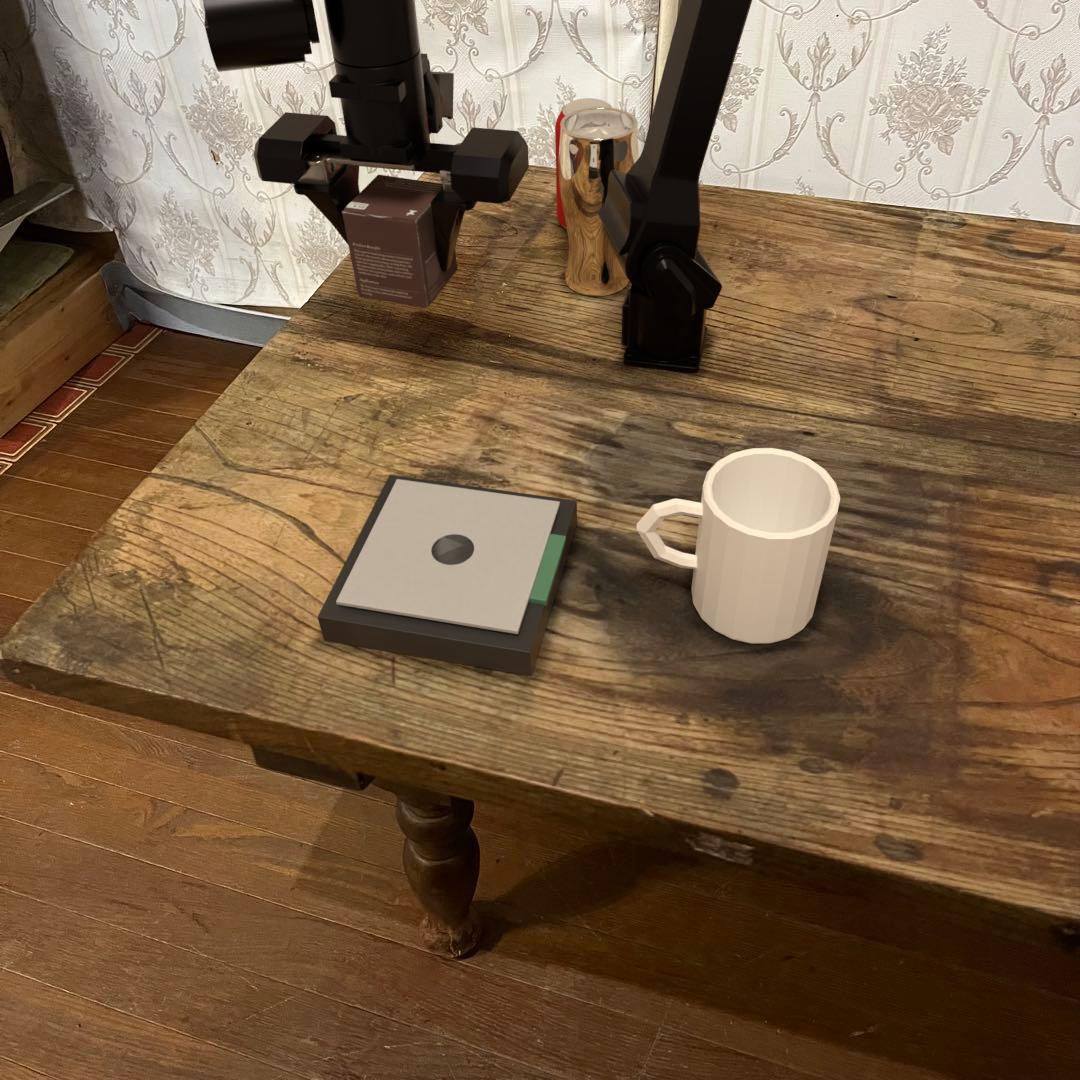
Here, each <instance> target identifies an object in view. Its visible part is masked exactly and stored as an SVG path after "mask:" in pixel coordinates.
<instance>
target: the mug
mask: <svg viewBox="0 0 1080 1080" xmlns="http://www.w3.org/2000/svg"><path fill="white" fill-rule="evenodd" d="M840 501H841V495H840V491H839V487H838V485H837V482H836V481H835V480H834V478H832V476H831V475H830V474H829V472H828V471H827V470H826V469H825V468H823V467H822V466H820V464H817V462H815V461H814V460H812V459H810V458H808V457H806V456H804V455H801V454H799V453H797V452H794V451H791V450H786V449H780V448H776V447H775V448H774V447H753V448H752V447H751V448H748V449H743V450H740V451H735V452H732V453H730V454H728V455H726V456H725V457H723V458H720V459H719V460H717V461H716V462H715V463H714V464H713V465H712V466H711V468H710V469H708V471H706V475H705V478H704V481H703V484H702V489H701V499H700V501H694V500H687V499H682V498H676V497H675V498H671V499H668V500H665V501H661V502H657V503H653V504H652V505H651V506H650V508H649V509H648V510H647V511H646V513H644V515H643V516H642V517H641V519H639V521H638V522H637V523H636V524H635V526H636V531H637V533H638V535H639V536H640V537H641V540H642V541H643V542H644V544H645V546H646V547H647V549H648V551H649V552H650V554H651V555H652V557H653V558H654V559H656V560H659V561H661V562H664V563H667V564H669V565H672V566H674V567H677V568H678V569H679V568H680V569H688V570H692V571H693V572H692V579H691V581H692V582H691V588H690V589H691V596H692V597H691V598H692V604H693V606H694V608H695V610H696V611H697V613H698V615H699V617H700V619H701V620H702V621H703V622H704V623H706V624H707V625H708V626H709V627H710V628H711V629H712V630H713V631H715V632H717V633H718V634H720V635H722V636H724V637H727V638H728V639H730V640H734V641H737V642H740V643H741V642H742V643H746V644H752V645H753V644H754V645H759V644H761V645H762V644H766V645H767V644H774V643H777V642H781V641H785V640H788V639H790V638H792V637H794V636H795V635H796V634H798V633H799V632H801V631H803V630H804V629H805V627H806V626H807V625H808V624H809V622H810V621H811V620H812V618H813V616H814V612H815V608H816V604H817V600H818V596H819V591H820V587H821V583H822V579H823V575H824V570H825V565H826V562H827V558H828V553H829V549H830V546H831V542H832V537H833V533H834V529H835V525H836V521H837V516H838V512H839V507H840ZM681 516H687V517H688V516H689V517H692V518H693V517H694V518H698V525H697V526H698V527H697V535H696V544H695V553H694V554H692V553H687V552H682V551H680V550H677V549H675V548H672V547H670V546H668V545H666V544H665V543H664V540H662V538H661V536H660V535H659V533H658V532H657V530H656V529H658V527H660V525H661V524H662V523H663V522H664V520H668V519H671V518H672V519H673V518H676V517H681Z"/></svg>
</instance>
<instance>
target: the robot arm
mask: <svg viewBox="0 0 1080 1080" xmlns="http://www.w3.org/2000/svg"><path fill="white" fill-rule="evenodd" d="M202 3H203V4H202V5H203V10H204V28H205V33H206V38H207V42H208V45H209V50H210V52H211V56H212V59H213V62H214V66H215V69H216V70H217V72H218V73H221V72H231V71H239V70H248V69H257V68H267V67H275V66H283V65H291V64H301V63H306V62H307V61H306V60H307V59H306V55H312V54H313V50H312V45H314V44H320V42H321V41H320V35H319V30H318V25H317V18H316V13H315V5H314V1H313V0H202ZM752 3H753V0H681V2H680V5H679V9H678V13H677V16H676V21H675V24H674V25H675V26H674V28H673V33H672V36H671V40H670V45H669V48H668V52H667V56H666V59H665V63H664V67H663V71H662V75H661V79H660V83H659V87H658V91H657V93H656V98H655V102H654V105H653V110H652V113H651V116H650V117H651V118H650V122H649V125H648V129H647V132H646V136H645V141H644V144H643V147H642V150H641V153H640V155H639V159H638V160H637V161H636V162H635V164H634V165H633V166H632V167H631V169H630V170H629V171H628V172H627V173H624V172H620V171H617V170H611V171H610V174H609V180H608V192H607V197H606V200H605V202H604V205H603V206H602V208H601V209H600V211H599V212H598V216H599V217H600V219H601V221H602V223H603V225H604V233H605V236H606V238H607V241H608V243H609V245H610V246H611V248H612V250H613V252H614V254H615V256H616V258H617V260H618V262H619V264H620V265H621V267H622V269H623V271H624V273H625V275H626V277H627V278H628V280H629V283H630V288H629V289H627V290H626V293H625V296H624V299H623V302H622V306H621V332H620V333H621V335H620V344H621V346H623V347H625V349H624V353H623V356H622V362H623V364H624V365H628V366H636V367H645V368H654V369H663V370H671V371H681V372H689V373H696V372H699V371H700V368H701V363H702V358H703V353H704V349H705V344H706V341H707V335H708V327H707V326H706V322H707V314H708V313H707V312H708V310H709V309H712V308H714V306H715V304H716V302H717V300H718V298H719V295H720V293H721V291H722V289H723V284H722V283H721V282H720V280H719V278H718V277H717V275H716V273H715V272H714V271H713V269H712V267H711V266H710V264H709V263H708V262H707V259H706V258H705V256H704V255H703V253H702V252H701V251H700V248H699V247H698V246H699V238H700V233H701V223H702V222H701V202H700V175H701V172H702V169H703V166H704V161H705V159H706V155H707V152H708V149H709V146H710V142H711V138H712V135H713V132H714V128H715V125H716V122H717V119H718V115H719V113H720V108H721V105H722V102H723V98H724V95H725V92H726V90H727V89H726V88H727V86H728V82H729V79H730V75H731V72H732V69H733V65H734V63H735V58H736V56H737V52H738V49H739V45H740V43H741V39H742V36H743V32H744V29H745V26H746V22H747V20H748V16H749V12H750V9H751V6H752ZM323 5H324V10H325V16H326V23H327V27H328V33H329V39H330V46H331V53H332V59H333V63H334V69H335V75H334V76H333V77H332V78H330V80H328V86H329V92H330V97H331V98H333V99H334V98H335V99H340V105H341V110H342V117H343V122H344V128H345V134H346V135H342V134H338V132H337V127H336V122H335V121H334V120H333V119H332V117H330V116H329V115H325V114H312V113H299V112H284V113H283V114H282V115H281V116H279V118H278V119H277V120H276V121H274V123H273V124H272V125H271V126H270V127H269V128H268V129H267V130H266V131H265V132H264V133H263V134H261V136H260V137H259V138H258V139H257V140H256V142H255V144H254V151H253V158H254V162H255V163H254V164H255V166H256V167H255V168H256V171H257V176H258V178H259V179H260V180H261V181H262V182H267V183H279V184H289V185H293V190H294V192H295V194H297V195H299V196H304V197H306V198H307V199H308V200H309V201H310V203H312V204H313V205H314V207H316V208H317V209H318V211H319V213H321V214H322V215H323V216H324V217H325V218H326V220H328V221H329V223H330V224H331V225H332V226H333V228H334V229H335V231H337V233H338V234H339V235H340V236H341V238H342V239H343V241H344V242H345V243H346V244H347V246H348V247H349V245H348V240H347V235H346V231H345V224H344V220H343V215H342V211H343V210H344V209H345V208H346V206H347V205H348V204H349V203H350V202H351V201H352V200H353V199H354V198H355V197H356V196H357V195H358V194H359V193H360V192H361V191H360V185H359V178H360V167H366V168H375V169H388V170H397V171H398V170H399V171H408V172H409V171H410V172H418V173H419V172H420V173H431V174H432V173H433V174H439V177H440V181H441V184H442V186H441V188H440V189H439V191H438V192H437V194H436V195H435V196H434V198H433V199H432V201H431V208H432V216H433V224H434V231H435V239H436V247H437V255H438V260H439V263H440V266H441V270H442V271H445V272H447V271H448V269H449V267H450V266H451V263H452V259H453V255H454V251H455V249H456V246H457V243H458V238H459V235H460V231H461V227H462V223H463V220H464V216H465V213H466V212H468V211H472V210H473V209H474V208H475V207H476V205H477V203H485V204H496V205H497V204H498V205H500V204H503V203H506V202H510V201H511V199H512V197H513V195H514V194H515V192H516V190H517V189H518V187H519V185H520V184H521V181H522V180H523V178H524V176H525V175H526V173H527V171H528V170H529V167H530V164H529V163H530V161H529V145H528V142H527V141H526V140H525V138H524V137H523V136H522V134H521V133H520V131H519V130H508V129H498V128H496V129H495V128H485V127H475V126H474V127H473V126H472V127H471V129H470V130H469V131H468V133H467V135H466V136H465V137H464V138H463V140H462V141H461V142H459V143H455V144H450V143H449V144H447V143H437V142H431V134H439V133H440V131H441V130H442V129H443V127H444V124H443V119H444V118H445V119H447V120H453V119H454V87H455V86H454V85H455V84H454V83H455V82H454V81H455V80H454V79H455V74H454V72H444V71H433V70H432V71H431V63H430V60H429V58H428V57H429V56H428V53H422V52H421V45H420V37H419V28H418V17H417V9H416V8H417V7H416V1H415V0H323ZM311 44H312V45H311Z"/></svg>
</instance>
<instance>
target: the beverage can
mask: <svg viewBox="0 0 1080 1080" xmlns="http://www.w3.org/2000/svg"><path fill="white" fill-rule="evenodd" d="M591 107H610V108H613V106H612V105H611V104H610V103H608V102H607V101H606V100H603V99H599V98H593V97H586V98H585V97H584V98H577V99H574V100H571V101H568V103H567V104H565V105H564V106H563V107H562V108H561V110H560V111H559V114H558V116H557V118H556V121H555V124H554V139H555V140H554V141H555V144H554V145H555V188H556V189H555V190H556V192H555V193H556V217H557V221H558V222H559V224H560V225H561V226H562V228H564V229H565V230H567V225H566V221H565V216H564V211H563V205H562V200H561V193H560V186H559V146H560V132H561V125H560V124H561V120H562V119H563V118H564V117H565V116H566V115H567V114H569V113H571V112H573V111H576V110H580V109H584V108H591Z"/></svg>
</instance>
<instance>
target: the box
mask: <svg viewBox="0 0 1080 1080" xmlns="http://www.w3.org/2000/svg"><path fill="white" fill-rule="evenodd" d="M441 186H442V182H434V181H433V182H432V181H426V180H420V179H412V178H406V177H405V178H404V177H397V176H391V175H385V174H377V175H376V176H375V177H374V178H373V179H372V180H371V181H370V182H369V183H368V184H367V185H366V186H365V187H364V188H363V189H362V190H361V191H360V193H359V194H358V195H357V196H356V197H355V198H354V199H353V200H352V201H351V202H350V203H349V204H348V205H347V206H346V208H345V209H344V210H343V211H342V215H343V220H344V224H345V231H346V235H347V240H348V244H347V246H348V245H349V246H348V250H349V254H350V260H351V266H352V270H353V274H354V275H353V277H354V281H355V286H356V291H357V295H358V298H363V299H368V300H375V301H382V302H389V303H393V304H399V305H405V306H410V307H416V308H422V309H428V308H429V307H430V306H431V305H432V304H433V303H434V301H435V300H436V299H437V297H438V296H439V295H440V294H441V292H442V290H443V289H444V288H445V287H446V285H447V284H448V283H449V282H450V280H452V278H453V277H454V275H455V274H456V272H458V261H457V252H456V251H457V249H456V248H455V251H454V255H453V259H452V263H451V266H450V267H449V269H448V271H447V272H445V271H442V270H441V266H440V263H439V260H438V255H437V247H436V239H435V231H434V224H433V216H432V208H431V201H432V199H433V198H434V196H435V195H436V194H437V192H438V191H439V189H440V188H441Z"/></svg>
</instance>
